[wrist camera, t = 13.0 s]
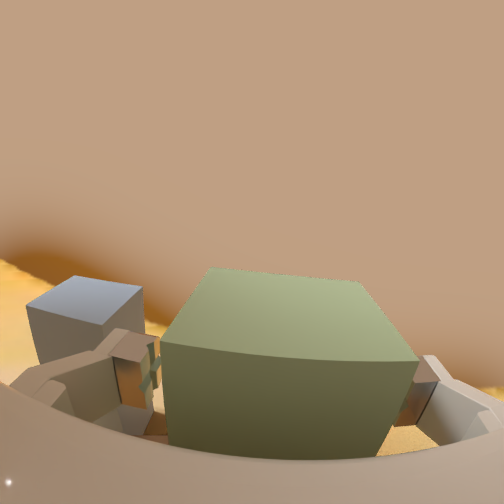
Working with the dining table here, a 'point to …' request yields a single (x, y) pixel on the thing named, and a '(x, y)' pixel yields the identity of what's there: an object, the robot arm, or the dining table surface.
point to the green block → (282, 368)
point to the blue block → (89, 331)
